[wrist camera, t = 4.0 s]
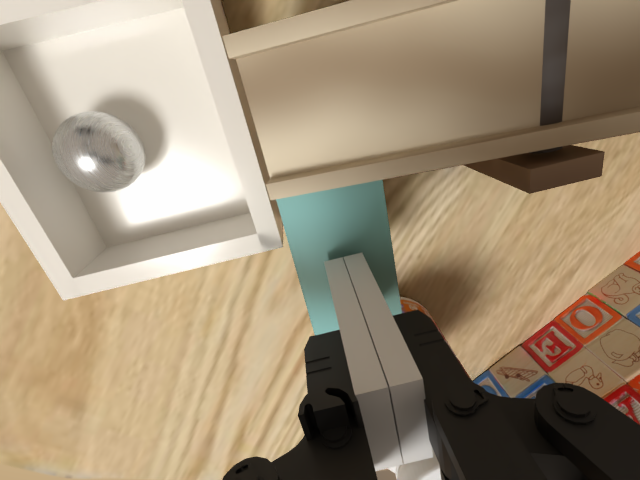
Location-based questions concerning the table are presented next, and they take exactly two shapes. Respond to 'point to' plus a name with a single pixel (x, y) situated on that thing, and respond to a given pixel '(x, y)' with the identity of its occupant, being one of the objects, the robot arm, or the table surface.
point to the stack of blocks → (583, 347)
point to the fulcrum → (544, 168)
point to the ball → (98, 151)
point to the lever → (421, 107)
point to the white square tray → (153, 129)
